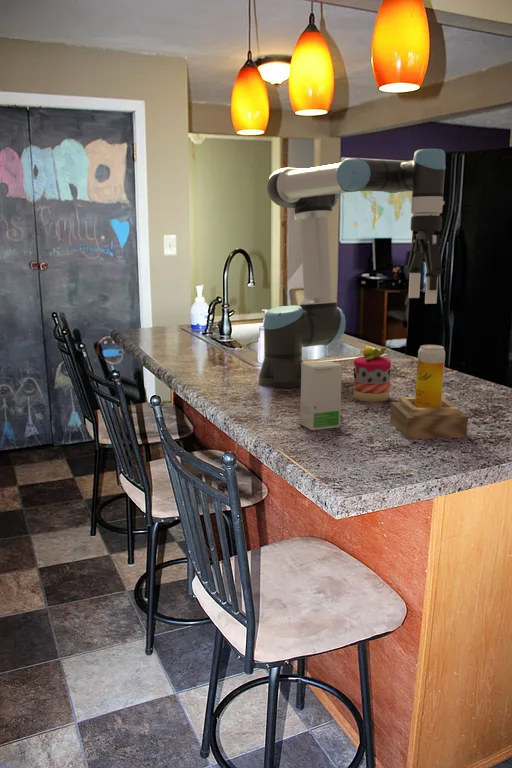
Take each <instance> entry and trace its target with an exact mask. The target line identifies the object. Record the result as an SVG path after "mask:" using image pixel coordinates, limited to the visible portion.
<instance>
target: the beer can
mask: <svg viewBox="0 0 512 768" xmlns="http://www.w3.org/2000/svg"><path fill="white" fill-rule="evenodd" d="M417 353H418V354H417V365H416V366H417V367H416V382H415V396H414V397H415V406H416V407H417V408H430V407H441V405H442V397H443V389H444V376H445V375H444V374H445V363H446V362H445V361H446V350H445V347H444V346H442V345H438V344H423V345H420V346H419V349H418V350H417Z"/></svg>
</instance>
